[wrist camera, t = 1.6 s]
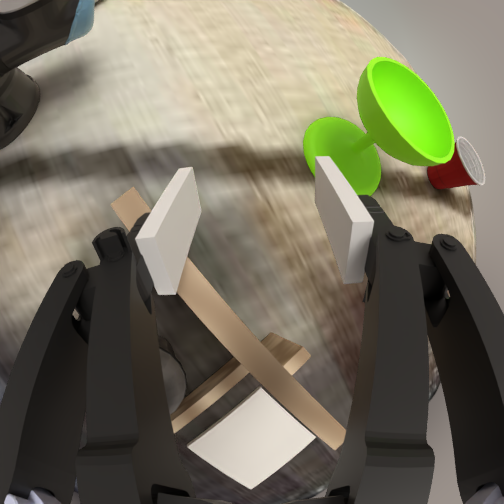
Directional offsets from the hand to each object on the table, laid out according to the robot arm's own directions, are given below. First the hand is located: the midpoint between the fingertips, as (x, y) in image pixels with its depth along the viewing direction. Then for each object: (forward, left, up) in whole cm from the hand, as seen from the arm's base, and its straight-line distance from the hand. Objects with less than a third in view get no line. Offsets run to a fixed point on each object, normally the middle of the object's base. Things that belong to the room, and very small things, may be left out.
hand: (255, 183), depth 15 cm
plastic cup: (+50, +13, -22) cm, 56 cm away
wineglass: (+24, +14, -22) cm, 35 cm away
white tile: (+3, -30, -22) cm, 37 cm away
